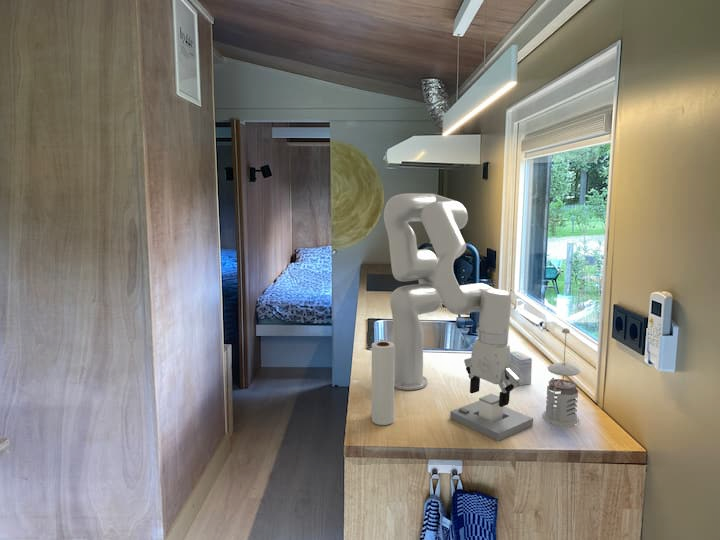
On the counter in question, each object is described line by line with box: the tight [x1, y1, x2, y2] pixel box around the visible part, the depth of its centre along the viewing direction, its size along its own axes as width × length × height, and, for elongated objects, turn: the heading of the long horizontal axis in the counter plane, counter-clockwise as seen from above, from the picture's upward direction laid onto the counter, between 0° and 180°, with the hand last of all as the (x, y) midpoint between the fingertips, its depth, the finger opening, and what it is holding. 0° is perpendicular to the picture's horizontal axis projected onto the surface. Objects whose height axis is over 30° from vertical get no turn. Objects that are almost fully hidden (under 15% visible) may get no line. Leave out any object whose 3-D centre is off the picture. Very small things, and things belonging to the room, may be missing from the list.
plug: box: [478, 393, 503, 423], centre depth 134 cm, size 4×5×6 cm
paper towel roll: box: [371, 338, 395, 426], centre depth 134 cm, size 7×6×21 cm
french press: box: [541, 327, 581, 427], centre depth 134 cm, size 10×12×25 cm
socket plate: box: [449, 400, 534, 442], centre depth 134 cm, size 16×14×3 cm
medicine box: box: [509, 350, 533, 386], centre depth 163 cm, size 8×4×9 cm, turn 16°
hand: (488, 398), depth 134 cm, fingers open, 9 cm apart
